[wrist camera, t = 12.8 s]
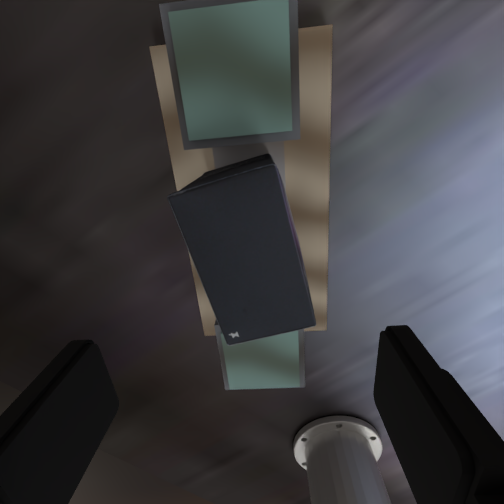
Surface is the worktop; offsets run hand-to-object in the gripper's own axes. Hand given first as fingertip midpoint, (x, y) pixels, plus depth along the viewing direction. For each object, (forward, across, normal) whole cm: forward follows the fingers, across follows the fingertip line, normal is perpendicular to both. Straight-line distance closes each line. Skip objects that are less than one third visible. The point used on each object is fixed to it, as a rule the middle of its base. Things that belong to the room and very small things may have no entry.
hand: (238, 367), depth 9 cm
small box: (+18, 0, 0) cm, 18 cm away
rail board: (+20, 0, 0) cm, 20 cm away
